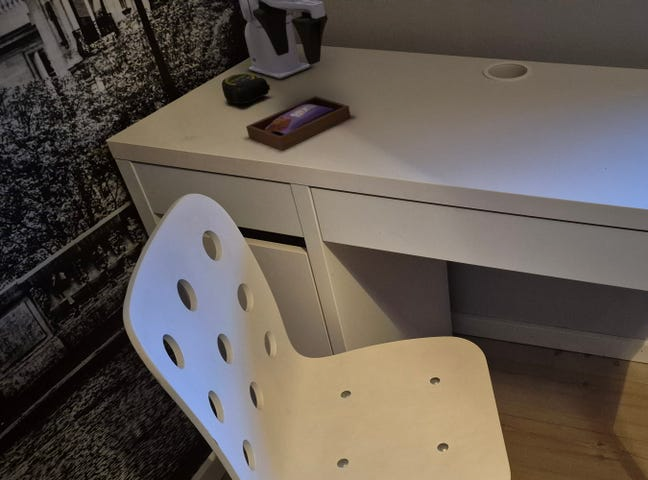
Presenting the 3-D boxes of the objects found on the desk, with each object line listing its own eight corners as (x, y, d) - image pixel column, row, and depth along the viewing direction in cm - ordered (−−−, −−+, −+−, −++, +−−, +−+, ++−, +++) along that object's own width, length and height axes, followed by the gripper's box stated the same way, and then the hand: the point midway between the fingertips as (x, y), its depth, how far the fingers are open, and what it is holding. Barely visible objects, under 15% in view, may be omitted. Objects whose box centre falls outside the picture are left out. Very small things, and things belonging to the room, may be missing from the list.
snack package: (310, 98, 115) (333, 103, 113) (312, 109, 116) (335, 114, 114) (262, 122, 107) (286, 128, 105) (265, 134, 109) (288, 140, 107)
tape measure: (242, 110, 117) (236, 89, 115) (218, 102, 121) (212, 81, 118) (272, 98, 121) (267, 77, 119) (248, 90, 125) (243, 69, 122)
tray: (282, 150, 105) (279, 138, 104) (249, 138, 109) (245, 126, 108) (350, 117, 114) (348, 105, 113) (317, 107, 118) (315, 95, 116)
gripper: (332, -36, 99) (347, 59, 108) (268, -47, 106) (287, 43, 115) (296, -26, 95) (315, 72, 104) (232, -38, 102) (254, 55, 111)
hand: (298, 58), depth 109 cm, fingers open, 7 cm apart
